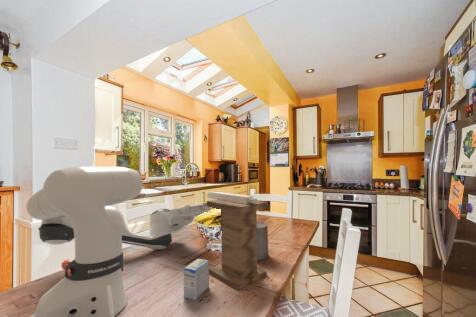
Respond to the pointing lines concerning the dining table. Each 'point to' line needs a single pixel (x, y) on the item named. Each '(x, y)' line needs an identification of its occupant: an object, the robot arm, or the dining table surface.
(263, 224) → the pillar candle
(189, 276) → the medicine box
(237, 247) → the stand
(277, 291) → the dining table surface
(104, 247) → the robot arm
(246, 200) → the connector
